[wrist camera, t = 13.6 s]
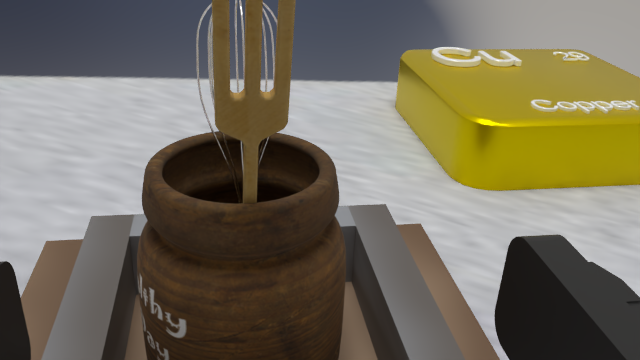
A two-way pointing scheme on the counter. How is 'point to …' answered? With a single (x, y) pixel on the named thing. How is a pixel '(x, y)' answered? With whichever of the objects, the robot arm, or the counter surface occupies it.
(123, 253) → the socket base
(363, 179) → the counter surface
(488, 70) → the element tile
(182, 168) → the utensil holder
